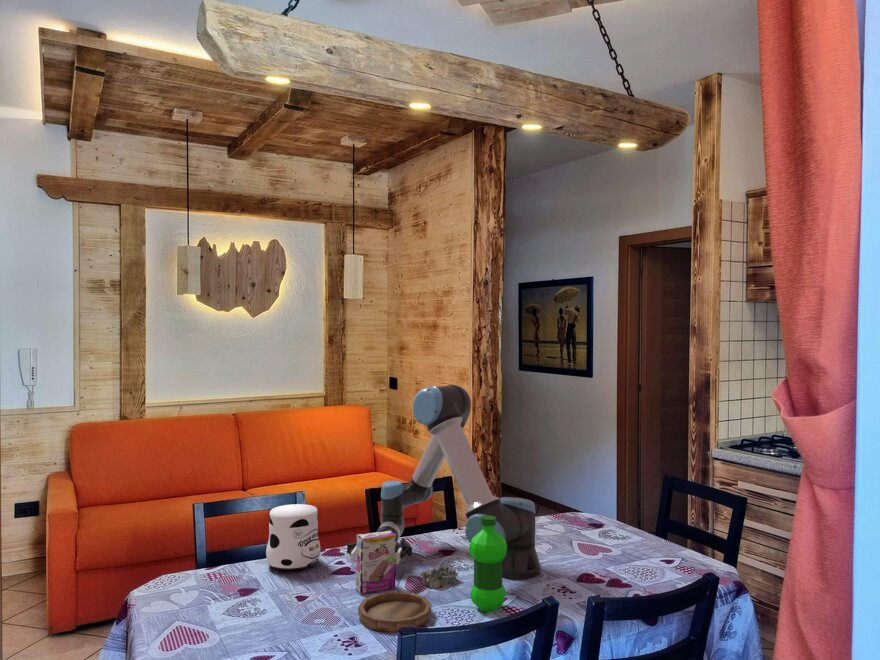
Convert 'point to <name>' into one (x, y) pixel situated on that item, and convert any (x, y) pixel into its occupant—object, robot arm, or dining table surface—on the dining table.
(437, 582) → the egg carton
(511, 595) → the dining table surface
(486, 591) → the plastic bottle
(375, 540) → the candy bar box
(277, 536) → the milk container
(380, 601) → the tray
